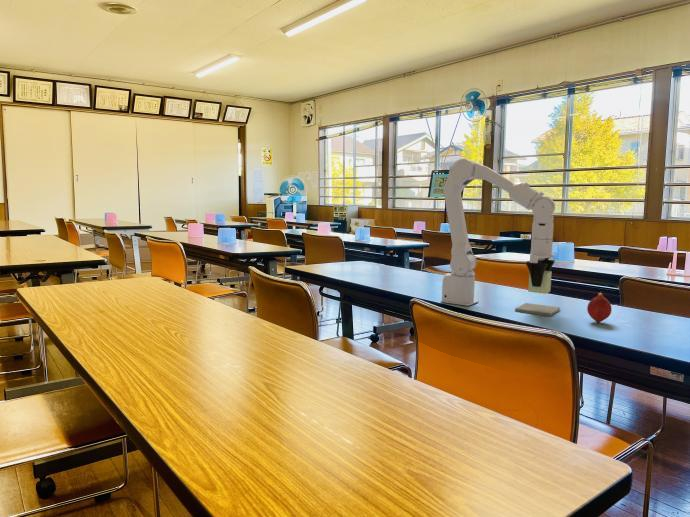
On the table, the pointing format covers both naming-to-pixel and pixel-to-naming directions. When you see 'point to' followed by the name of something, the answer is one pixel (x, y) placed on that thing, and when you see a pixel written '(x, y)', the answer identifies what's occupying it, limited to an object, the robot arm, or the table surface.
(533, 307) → the coaster
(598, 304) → the onion
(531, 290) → the block
